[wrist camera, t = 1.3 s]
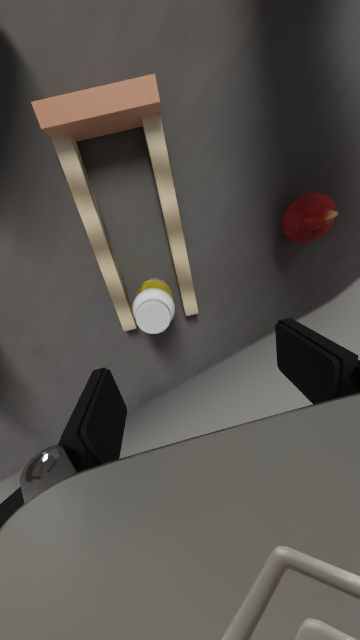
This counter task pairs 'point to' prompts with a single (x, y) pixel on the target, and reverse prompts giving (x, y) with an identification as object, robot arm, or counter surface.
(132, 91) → the wooden u-shaped frame
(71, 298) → the counter surface
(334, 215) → the onion
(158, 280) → the supplement bottle
